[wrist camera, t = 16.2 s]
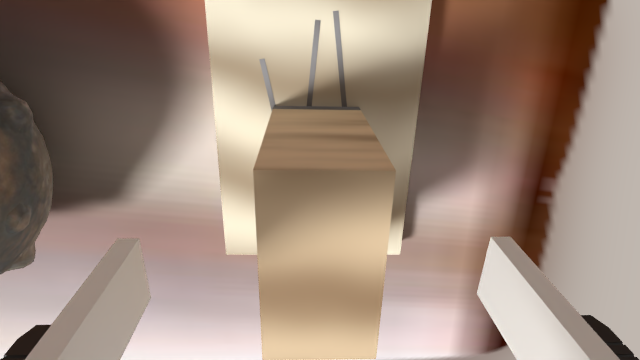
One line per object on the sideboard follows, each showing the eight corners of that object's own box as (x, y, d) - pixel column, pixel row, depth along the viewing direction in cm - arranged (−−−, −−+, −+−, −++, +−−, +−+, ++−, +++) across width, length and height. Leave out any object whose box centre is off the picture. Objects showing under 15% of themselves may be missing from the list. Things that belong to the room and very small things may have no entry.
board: (196, -190, 18) (187, -206, 17) (445, -177, 19) (456, -193, 18) (229, 242, 28) (226, 254, 27) (395, 242, 28) (400, 254, 27)
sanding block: (273, 105, 23) (253, 169, 13) (358, 106, 23) (396, 170, 14) (276, 238, 26) (262, 360, 17) (350, 238, 26) (375, 358, 17)
